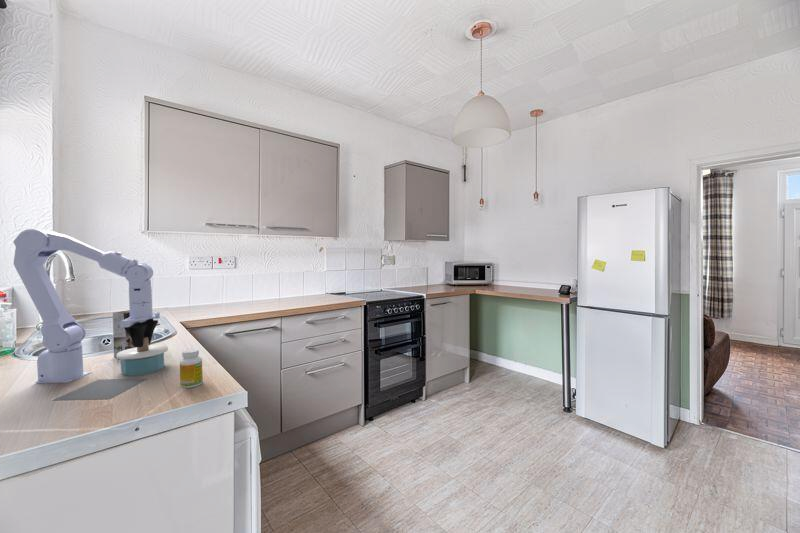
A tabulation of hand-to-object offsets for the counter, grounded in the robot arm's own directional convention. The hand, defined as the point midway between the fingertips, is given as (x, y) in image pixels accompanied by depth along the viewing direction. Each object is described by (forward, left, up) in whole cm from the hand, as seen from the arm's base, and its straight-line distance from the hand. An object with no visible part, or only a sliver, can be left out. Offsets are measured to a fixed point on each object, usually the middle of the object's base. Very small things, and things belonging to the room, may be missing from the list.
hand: (142, 345), depth 110 cm
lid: (0, 0, -2) cm, 3 cm away
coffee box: (-16, +18, -8) cm, 25 cm away
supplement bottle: (+22, -13, -8) cm, 27 cm away
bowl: (0, 0, -8) cm, 8 cm away
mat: (0, -16, -8) cm, 17 cm away
